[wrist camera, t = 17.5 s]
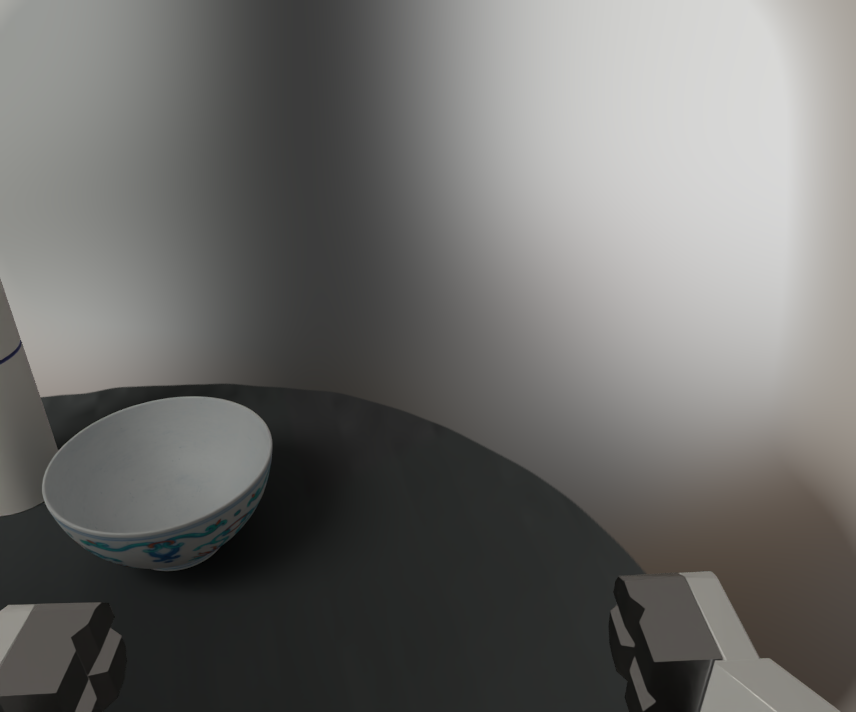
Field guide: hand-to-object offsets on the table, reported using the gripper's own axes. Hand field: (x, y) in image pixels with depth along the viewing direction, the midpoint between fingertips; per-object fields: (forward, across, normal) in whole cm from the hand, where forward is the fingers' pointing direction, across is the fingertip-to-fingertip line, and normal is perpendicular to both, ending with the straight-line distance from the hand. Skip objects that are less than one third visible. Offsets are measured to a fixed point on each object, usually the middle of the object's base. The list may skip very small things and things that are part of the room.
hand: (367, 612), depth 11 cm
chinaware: (+31, -17, -28) cm, 45 cm away
